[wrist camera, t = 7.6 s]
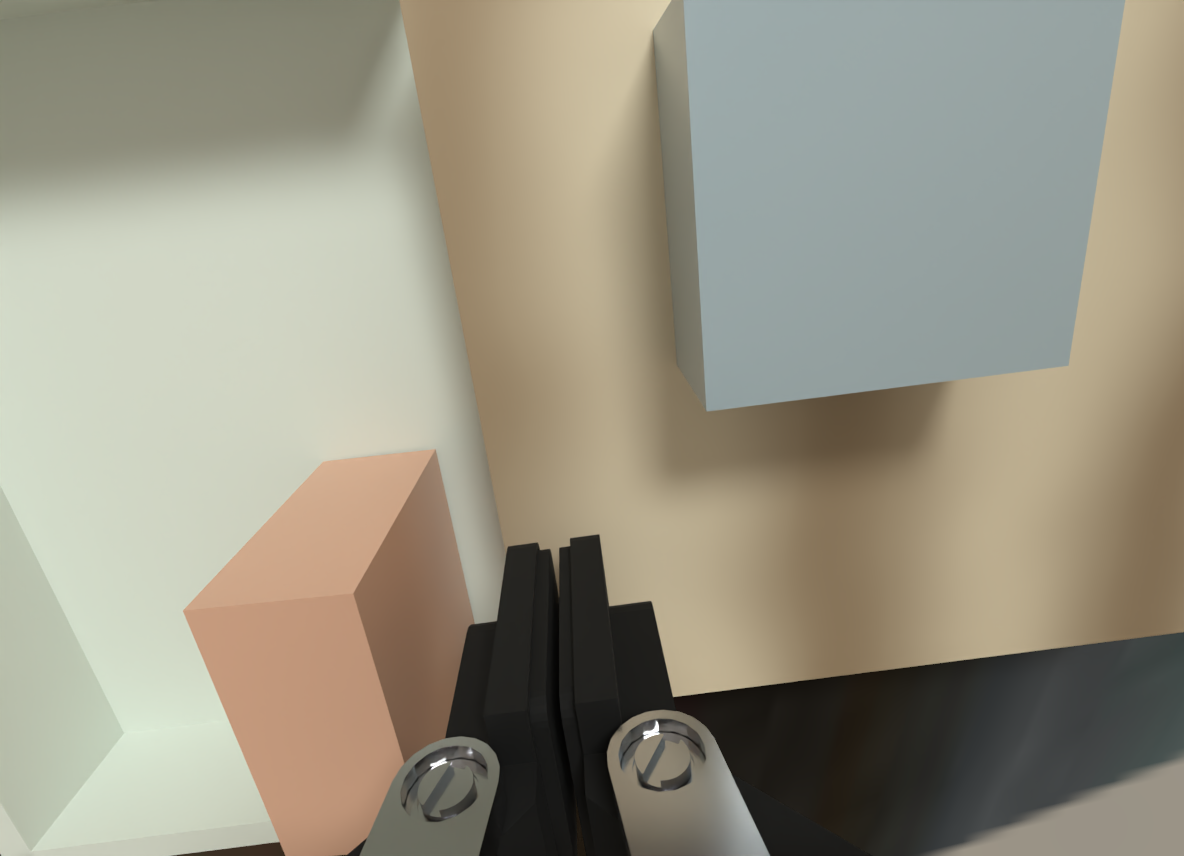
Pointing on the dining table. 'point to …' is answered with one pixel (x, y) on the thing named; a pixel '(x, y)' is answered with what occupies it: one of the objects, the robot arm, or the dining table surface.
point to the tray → (196, 373)
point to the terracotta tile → (339, 643)
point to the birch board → (809, 426)
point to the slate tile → (877, 188)
